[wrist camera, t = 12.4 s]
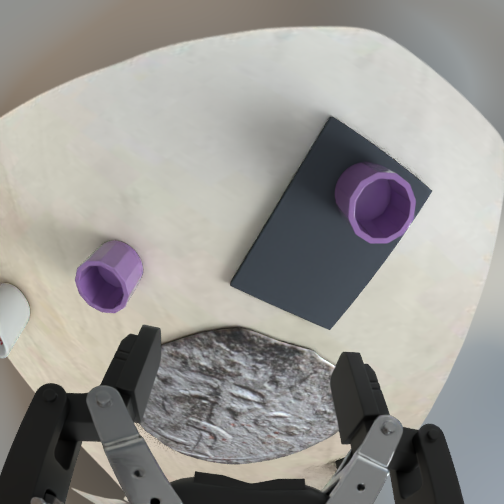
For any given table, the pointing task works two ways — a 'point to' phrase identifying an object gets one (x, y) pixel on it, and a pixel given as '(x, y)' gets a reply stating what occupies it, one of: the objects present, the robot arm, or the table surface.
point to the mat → (319, 235)
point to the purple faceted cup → (109, 276)
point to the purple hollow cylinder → (375, 202)
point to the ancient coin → (240, 397)
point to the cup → (11, 316)
